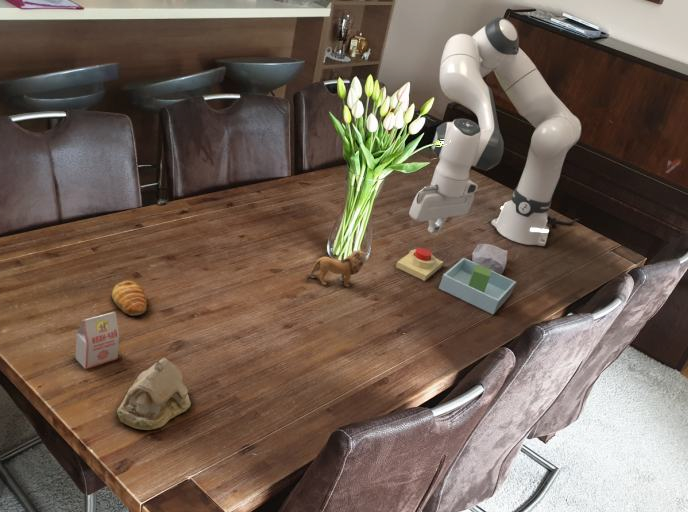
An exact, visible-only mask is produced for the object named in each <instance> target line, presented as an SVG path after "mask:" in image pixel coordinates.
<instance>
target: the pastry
mask: <svg viewBox="0 0 688 512" xmlns="http://www.w3.org/2000/svg"><path fill="white" fill-rule="evenodd" d="M111 293H112V294H111V298H112V300H113V302H114V304H115V305H116V306H117V308H119V309H120V310H121V311H122V312H123V313H125V314H127V315H129V316H132V317H133V316H139V315H142V314H144V313H145V312H146V310H147V305H148V303H147V299H148V298H147V295H146V293H145V290H144V288H143V287H142V286H141V285H138V284H137V282H136V281H132V280H124V281H122V282H118V284H116V285H115V286H113V288H112V290H111Z"/></svg>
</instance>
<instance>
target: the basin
mask: <svg viewBox="0 0 688 512" xmlns="http://www.w3.org/2000/svg"><path fill="white" fill-rule="evenodd" d="M475 265H476V263H474V262H472V260H470V259H467V258H465V257H462V258H461V259H460V260H459V261H458V262H456V263H455V264H454V265H453V266H451V267H450V269H448V270H447V271H446V272H444V273H443V274H442V277H441V280H440V282H439V285H438V289H439V290H441V291H443V292H446V293H447V294H450V295H451V296H453V297H456V298H458V299H460V300H461V301H464V302H466V303H468V304H470V305H472V306H474V307H477V308H478V309H481V310H483V311H484V312H487V313H489V314H490V315H494V314H495V313H496V312H498V310H499V309H500V308H501V307H502V305H503V304H504V303H505V302H506V301H507V300H508V299H509V298H510V297H511V296H512V294H513V291H514V289H515V286H516V284H517V281H515V280H513V279H511V278H509V277H506V275H505V276H504V275H502V274H498V273H496V272H494V271H492V270H491V275H490V279H489V281H488V284H487V286H486V289H485V291H484V293H483V292H481V291H479V290H477V289H475V288H473V287H471V286H468V284H469V281H470V278H471V275H472V273H473V270H474V267H475ZM477 265H479V264H477ZM480 266H481V265H480Z"/></svg>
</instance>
